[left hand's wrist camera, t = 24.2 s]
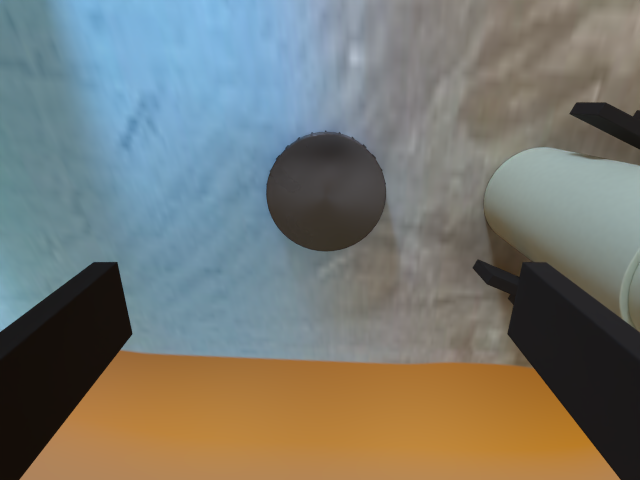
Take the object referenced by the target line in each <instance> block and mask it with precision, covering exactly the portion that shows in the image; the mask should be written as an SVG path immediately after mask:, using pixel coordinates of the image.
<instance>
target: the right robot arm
mask: <svg viewBox="0 0 640 480" xmlns="http://www.w3.org/2000/svg"><path fill="white" fill-rule="evenodd" d="M570 114H571V115H573V116H575V117H577V118H579V119H581V120H583V121H585V122H587V123H589V124H590V125H592V126H594V127H596V128H598V129H600V130H602V131H604V132H606V133H608V134H610V135H612V136H614V137H616V138H618V139H620V140H622V141H624V142H626V143H628V144H630V145H632V146H634V147H636V148H638V149H640V111H638V110H637V111H636V113H635V114H634V116H631V115H629V114H627V113H625V112H623V111H621V110H619V109H617V108H615V107H613V106H611V105H609V104H607V103H576V104H575V106H574V107H573V109H572V110H571V112H570ZM473 269H474V270H475V271H476V272H477V273H478V275H479V276H480V277H481V278H482V279H483V280H484V281H485V282H486V284H488V285H490V286H493V287H495V288H497V289H500V290H502V291H505V292H507V293H509V294H511V295H510V296H509V297H508V299H509V300H510V301H511V303H512V304H513V305H514V301H515V296H516V291H517V287H518V282H519V277H518V276H515V275H513V274H511V273H508V272H506V271H504V270H501V269H499V268H497V267H494V266H492V265H490V264H487V263H485V262H483V261H481V260H477V261H476V263H475V265H474V266H473Z"/></svg>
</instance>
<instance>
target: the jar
mask: <svg viewBox="0 0 640 480" xmlns="http://www.w3.org/2000/svg"><path fill="white" fill-rule="evenodd" d="M484 213H485V217H486V220H487V222H488V224H489V226H490V227H491V229H492V230H493V231H494V232H495V233H496V234H497V235H499V236H500V237H501V238H502V239H504V240H505V241H506V242H508V243H509V244H510V245H512V246H513V247H514V248H515V249H517V250H518V251H519V252H521V253H522V254H523V255H525V256H526V257H527V258H528V259H530V260H531V261H532V262H547V263H548V264H549V265H551V266H552V267H553V268H555V269H556V270H557V271H559V272H560V273H561V274H563V275H564V276H565V277H567V278H568V279H569V280H571V281H572V282H573V283H575V284H576V285H577V286H579V287H580V288H581V289H583V290H584V291H585V292H587V293H588V294H589V295H591V296H592V297H593V298H595V299H596V300H597V301H599V302H600V303H601V304H603V305H604V306H605V307H607V308H608V309H609V310H611V311H612V312H613V313H615V314H616V315H617V316H619V317H620V318H621V319H623V320H624V321H626V322H627V323H628V324H630V325H631V326H632V327H634V328H635V329H636V330H638V331H639V332H640V166H639V165H634V164H629V163H624V162H619V161H614V160H609V159H604V158H599V157H595V156H590V155H585V154H580V153H575V152H570V151H565V150H560V149H555V148H548V147H539V148H532V149H528V150H525V151H522V152H520V153H518V154H516V155H514V156H513V157H511V158H510V159H508V160H507V161H506V162H504V163H503V164H502V165H501V166H500V167H499V168H498V169H497V171H496V172H495V173H494V175H493V176H492V178H491V179H490V181H489V183H488V186H487V188H486V192H485V196H484Z"/></svg>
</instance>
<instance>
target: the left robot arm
mask: <svg viewBox="0 0 640 480" xmlns="http://www.w3.org/2000/svg"><path fill="white" fill-rule="evenodd" d="M131 335H132V329H131V325H130V320H129V315H128V310H127V306H126V301H125V296H124V291H123V287H122V282H121V277H120V273H119V268H118V263H117V262H93V263H92V264H91V265H89V266H88V267H87V268H85V269H84V270H83V271H81V272H80V273H79V274H77V275H76V276H75V277H73V278H72V279H71V280H69V281H68V282H67V283H65V284H64V285H63V286H61V287H60V288H59V289H57V290H56V291H55V292H53V293H52V294H51V295H49V296H48V297H47V298H45V299H44V300H43V301H41V302H40V303H39V304H37V305H36V306H35V307H33V308H32V309H31V310H29V311H28V312H27V313H25V314H24V315H23V316H21V317H20V318H18V319H17V320H16V321H14V322H13V323H12V324H10V325H9V326H8V327H6V328H5V329H4V330H2V331H1V332H0V480H19V479H20V478H21V477H22V476H23V474H24V473H25V472H26V470H27V469H28V468H29V467H30V465H31V464H32V463H33V461H34V460H35V459H36V458H37V456H38V455H39V454H40V452H41V451H42V450H43V449H44V447H45V446H46V445H47V443H48V442H49V441H50V439H51V438H52V437H53V436H54V434H55V433H56V432H57V430H58V429H59V428H60V427H61V425H62V424H63V423H64V422H65V420H66V419H67V418H68V416H69V415H70V414H71V412H72V411H73V410H74V409H75V407H76V406H77V405H78V403H79V402H80V401H81V400H82V398H83V397H84V396H85V394H86V393H87V392H88V391H89V389H90V388H91V387H92V385H93V384H94V383H95V382H96V380H97V379H98V378H99V376H100V375H101V374H102V373H103V371H104V370H105V369H106V367H107V366H108V365H109V364H110V362H111V361H112V360H113V358H114V357H115V356H116V355H117V353H118V352H119V351H120V349H121V348H122V347H123V346H124V344H125V343H126V342H127V340H128V339H129V338H130V337H131ZM508 335H509V337H510V338H511V339H512V340H513V342H514V343H515V344H516V346H517V347H518V348H519V349H520V351H521V352H522V353H523V355H524V356H525V357H526V358H527V360H528V361H529V362H530V364H531V365H532V366H533V367H534V369H535V370H536V371H537V373H538V374H539V375H540V376H541V378H542V379H543V380H544V382H545V383H546V384H547V385H548V387H549V388H550V389H551V391H552V392H553V393H554V394H555V396H556V397H557V398H558V400H559V401H560V402H561V403H562V405H563V406H564V407H565V409H566V410H567V411H568V412H569V414H570V415H571V416H572V418H573V419H574V420H575V422H576V423H577V424H578V425H579V427H580V428H581V429H582V430H583V432H584V433H585V434H586V436H587V437H588V438H589V440H590V441H591V442H592V443H593V445H594V446H595V447H596V449H597V450H598V451H599V452H600V454H601V455H602V456H603V457H604V459H605V460H606V461H607V463H608V464H609V465H610V467H611V468H612V469H613V470H614V472H615V473H616V474H617V476H618V477H619V478H620V479H621V480H640V332H639V331H638V330H636V329H635V328H634V327H632V326H631V325H630V324H628V323H627V322H626V321H624V320H623V319H621V318H620V317H619V316H617V315H616V314H615V313H613V312H612V311H611V310H609V309H608V308H607V307H605V306H604V305H603V304H601V303H600V302H599V301H597V300H596V299H595V298H593V297H592V296H591V295H589V294H588V293H587V292H585V291H584V290H583V289H581V288H580V287H579V286H577V285H576V284H575V283H573V282H572V281H571V280H569V279H568V278H567V277H565V276H564V275H563V274H561V273H560V272H559V271H557V270H556V269H555V268H553V267H552V266H551V265H549V264H548V263H547V262H523V263H522V268H521V273H520V277H519V282H518V287H517V291H516V296H515V301H514V306H513V310H512V315H511V320H510V325H509V329H508Z"/></svg>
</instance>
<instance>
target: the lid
mask: <svg viewBox="0 0 640 480" xmlns="http://www.w3.org/2000/svg"><path fill="white" fill-rule="evenodd" d="M366 148H367V147H366V146H365V145H364V144H363V145H362V144H361V143H359V142H358V141H356V140H355V139H354V138H353V137H352V138H351V137H349V136H346V135H344V134H341V133H340V132H339V133H336V132H326V131H325V132H317V133H313V132H312V133H311V134H309V135H306V136H304V137H302V138H300V137H299V138H298V139H297V140H296V141H295V142H293V143H292V144H291V145H288V146H287V147H286V148H285V150H284V151H283V153H282V154H281V155H279V156H278V157H277V158H276V159H277V160H276V162H275V163H274V165H273V167H272V169H271V170H270V175H269V178H268V182H267V193H266V195H267V204H268V208H269V211H270V214H271V216H272V218H273V220H274V222H275V224H276V225H277V227H278V228H279V229H280V230H281V232H282V233H283V234H284V235H285V236H287V237H288V238H289V239H290V240H292V241H293V242H295V243H296V244H298V245H300V246H303V247H305V248H308V249H312V250H317V251H335V250H340V249H344V248H347V247H349V246H352V245H354V244H356V243H357V242H359V241H360V240H362V239H363V238H364V237H366V236H367V235H368V234H369V233H370V232H371V231H372V229H373V228H374V227H375V226H376V224H377V222H378V221H379V219H380V217H381V214H382V212H383V209H384V205H385V199H386V186H385V184H386V183H385V180H384V176H383V173H382V169H381V168H380V166H379V164H378V163H377V161H376V158H375V156H374V155H373V154H371V153H370V152H369V151H368V150H367V149H366Z"/></svg>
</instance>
